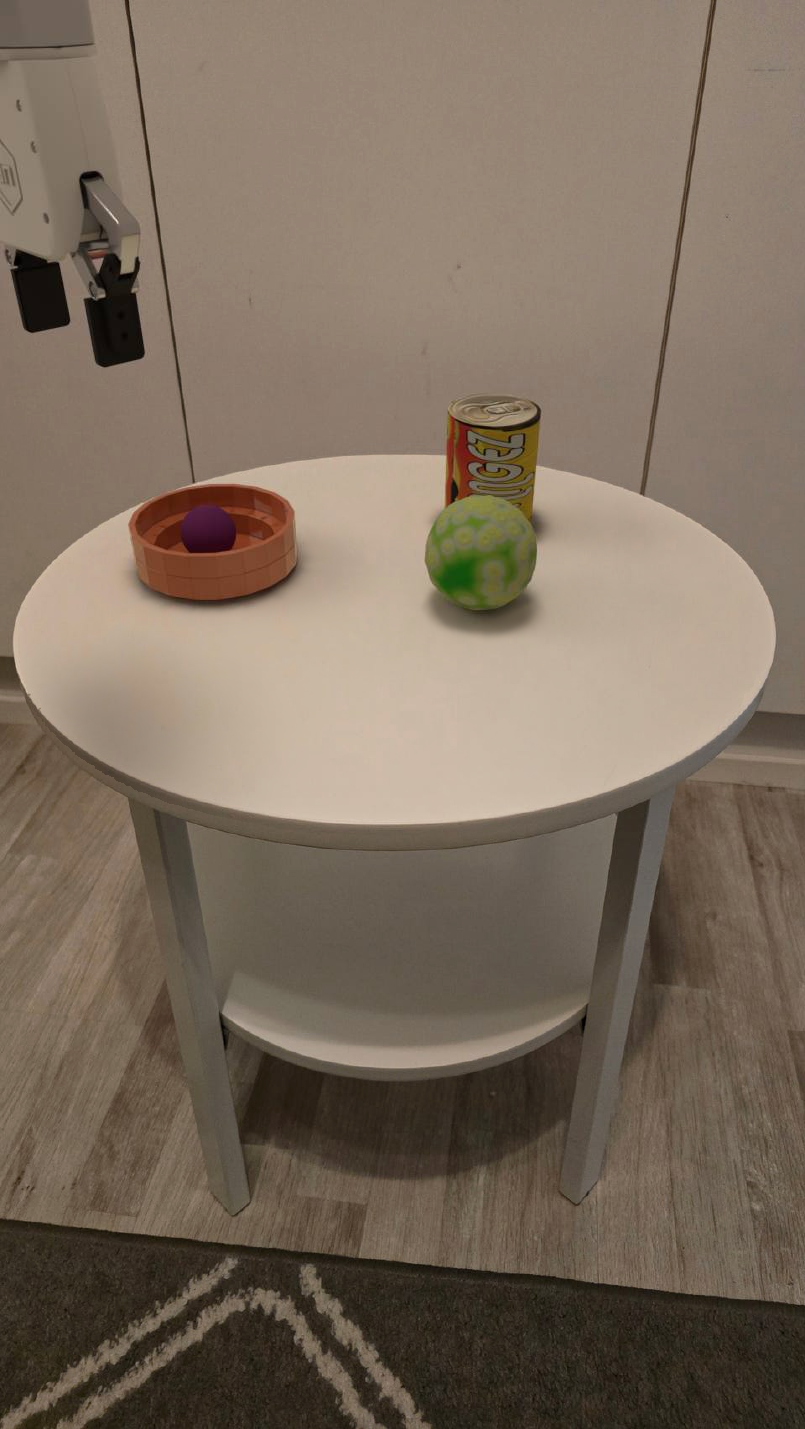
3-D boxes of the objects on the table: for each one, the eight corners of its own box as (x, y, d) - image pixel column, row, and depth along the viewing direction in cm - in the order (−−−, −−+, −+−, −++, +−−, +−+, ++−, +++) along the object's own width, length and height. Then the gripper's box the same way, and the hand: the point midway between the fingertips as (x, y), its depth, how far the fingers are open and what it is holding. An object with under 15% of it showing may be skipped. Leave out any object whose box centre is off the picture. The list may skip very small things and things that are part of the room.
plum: (197, 574, 92) (176, 522, 89) (188, 561, 96) (168, 511, 94) (249, 554, 93) (229, 502, 90) (237, 542, 97) (219, 492, 95)
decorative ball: (517, 572, 94) (525, 473, 88) (545, 627, 86) (555, 522, 80) (415, 579, 93) (416, 480, 86) (433, 636, 85) (436, 531, 79)
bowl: (184, 623, 86) (176, 573, 83) (111, 558, 96) (101, 511, 93) (327, 572, 94) (325, 524, 91) (246, 516, 103) (241, 471, 100)
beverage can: (428, 516, 103) (430, 403, 96) (499, 498, 107) (506, 388, 100) (474, 551, 97) (480, 433, 90) (548, 530, 101) (560, 416, 93)
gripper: (-107, 21, 57) (-29, 327, 67) (28, 33, 47) (96, 391, 57) (16, 18, 61) (72, 307, 71) (165, 28, 51) (205, 363, 61)
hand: (83, 344), depth 64 cm, fingers open, 9 cm apart
